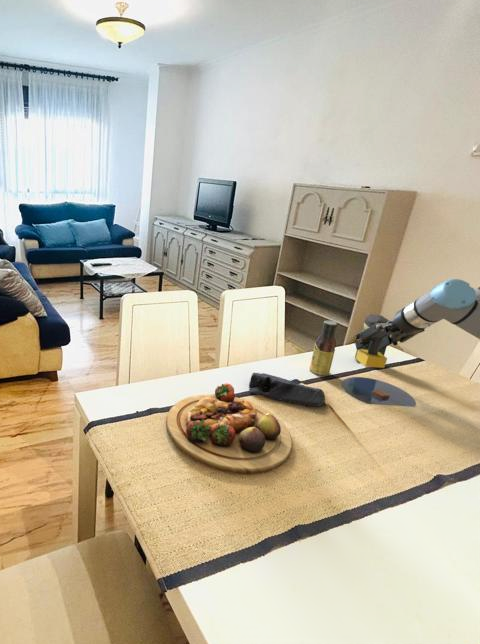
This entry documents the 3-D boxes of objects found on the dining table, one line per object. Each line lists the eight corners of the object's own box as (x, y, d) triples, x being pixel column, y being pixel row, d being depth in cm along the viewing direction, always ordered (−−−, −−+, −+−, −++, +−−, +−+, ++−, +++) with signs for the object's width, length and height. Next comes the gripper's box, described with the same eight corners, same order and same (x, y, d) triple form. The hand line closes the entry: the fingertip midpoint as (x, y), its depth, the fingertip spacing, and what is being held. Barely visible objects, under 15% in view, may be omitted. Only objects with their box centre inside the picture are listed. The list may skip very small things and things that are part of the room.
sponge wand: (373, 359, 129) (384, 322, 124) (384, 367, 123) (396, 328, 118) (355, 358, 129) (365, 321, 124) (365, 366, 123) (376, 327, 119)
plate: (389, 382, 131) (390, 378, 131) (430, 415, 112) (431, 412, 112) (329, 378, 132) (330, 375, 132) (359, 411, 113) (360, 407, 113)
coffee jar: (383, 370, 139) (398, 322, 133) (359, 367, 141) (373, 320, 134) (374, 359, 148) (387, 314, 141) (351, 356, 150) (363, 311, 143)
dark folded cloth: (322, 415, 110) (325, 401, 109) (244, 393, 120) (246, 380, 119) (325, 392, 123) (328, 379, 121) (254, 374, 133) (256, 361, 131)
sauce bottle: (312, 369, 138) (324, 317, 131) (330, 375, 134) (344, 322, 127) (305, 374, 134) (317, 321, 127) (324, 381, 130) (337, 326, 123)
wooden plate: (185, 390, 121) (188, 366, 118) (294, 419, 108) (300, 393, 106) (147, 449, 94) (149, 420, 91) (286, 496, 81) (294, 465, 78)
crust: (379, 392, 122) (380, 389, 121) (388, 397, 119) (389, 394, 119) (371, 393, 121) (372, 390, 121) (380, 398, 118) (381, 396, 118)
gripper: (385, 327, 105) (340, 355, 126) (455, 330, 105) (398, 358, 126) (379, 303, 109) (336, 334, 130) (446, 306, 108) (392, 337, 129)
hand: (367, 346), depth 128 cm, fingers closed on sponge wand, 6 cm apart
